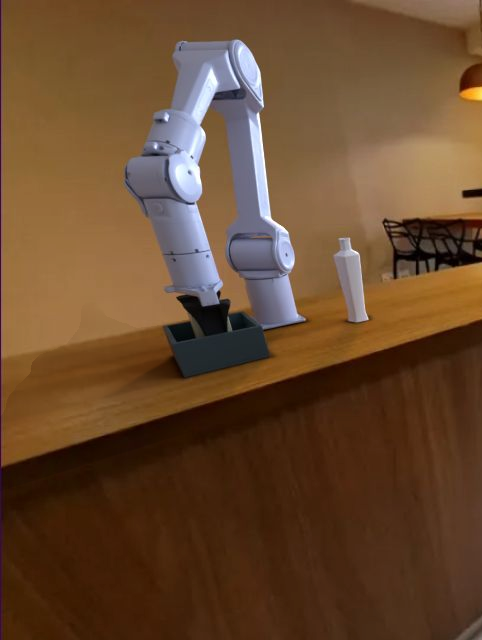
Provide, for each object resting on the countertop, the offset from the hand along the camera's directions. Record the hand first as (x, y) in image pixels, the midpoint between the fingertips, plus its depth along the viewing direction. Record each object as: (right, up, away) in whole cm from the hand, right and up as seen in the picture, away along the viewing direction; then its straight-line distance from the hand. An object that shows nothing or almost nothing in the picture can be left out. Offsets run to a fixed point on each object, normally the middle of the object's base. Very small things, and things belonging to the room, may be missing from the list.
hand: (217, 342), depth 67 cm
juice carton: (0, -2, +1) cm, 2 cm away
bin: (0, -2, +1) cm, 2 cm away
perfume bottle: (+16, +6, +17) cm, 24 cm away
